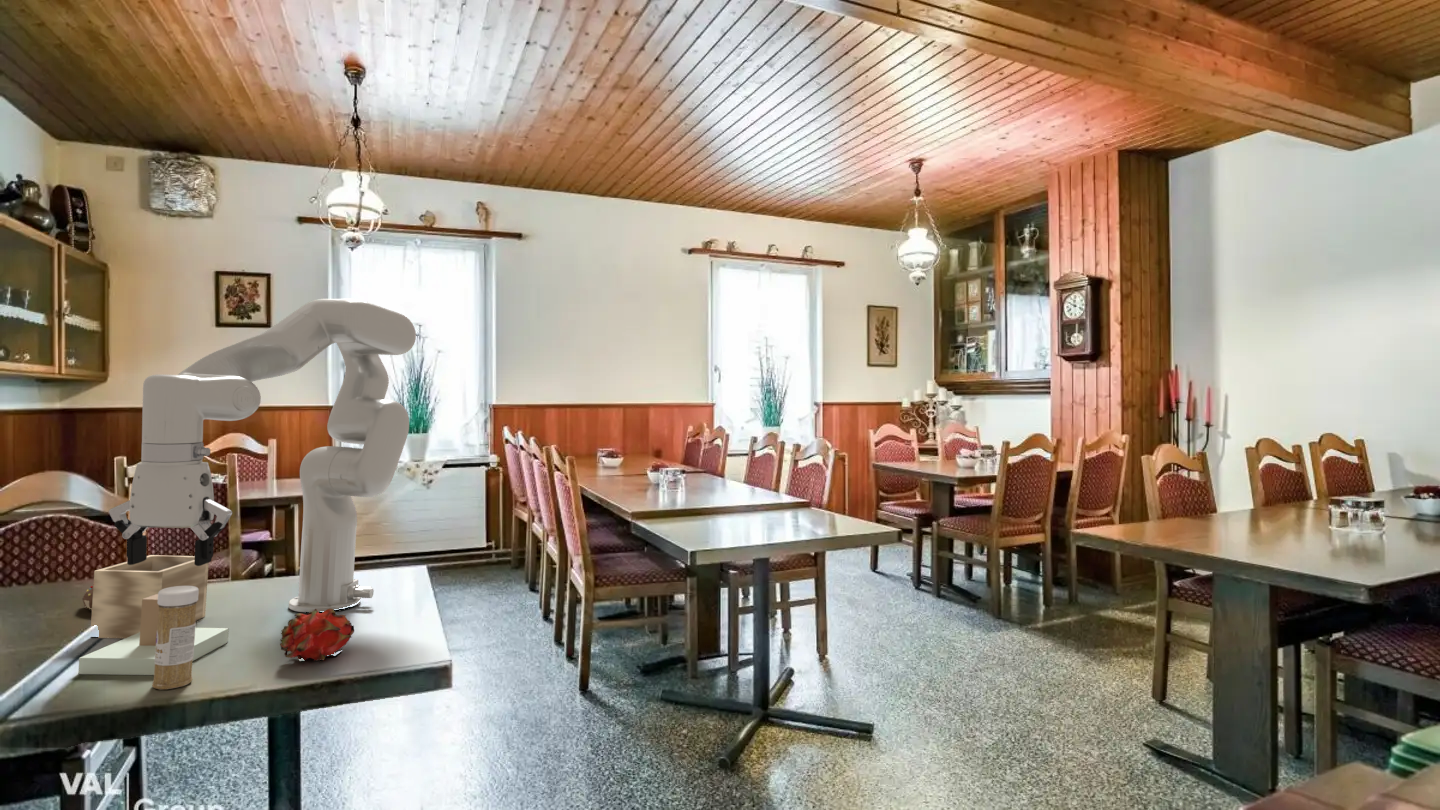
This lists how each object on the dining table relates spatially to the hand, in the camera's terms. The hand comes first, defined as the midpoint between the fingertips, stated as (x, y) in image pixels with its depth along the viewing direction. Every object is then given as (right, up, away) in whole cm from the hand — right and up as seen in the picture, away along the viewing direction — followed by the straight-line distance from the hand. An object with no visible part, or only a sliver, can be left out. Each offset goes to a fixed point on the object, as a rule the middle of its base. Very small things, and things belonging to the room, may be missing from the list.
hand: (170, 563), depth 111 cm
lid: (-1, -14, -1) cm, 14 cm away
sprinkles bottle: (+9, -15, -11) cm, 21 cm away
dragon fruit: (+22, -16, +2) cm, 27 cm away
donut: (-27, -14, +24) cm, 39 cm away
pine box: (-13, -14, +13) cm, 23 cm away
